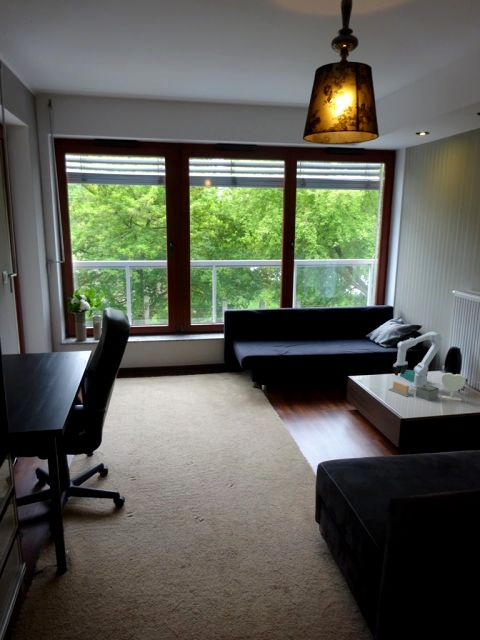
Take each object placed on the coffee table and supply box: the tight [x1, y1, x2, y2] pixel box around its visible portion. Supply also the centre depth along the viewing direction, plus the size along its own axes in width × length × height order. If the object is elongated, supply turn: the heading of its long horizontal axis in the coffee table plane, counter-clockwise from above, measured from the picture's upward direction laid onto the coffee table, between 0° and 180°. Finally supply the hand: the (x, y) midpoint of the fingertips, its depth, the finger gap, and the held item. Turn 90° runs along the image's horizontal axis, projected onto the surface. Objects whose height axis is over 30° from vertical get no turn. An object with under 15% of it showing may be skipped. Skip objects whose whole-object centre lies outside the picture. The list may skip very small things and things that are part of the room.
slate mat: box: [388, 387, 414, 398], centre depth 335 cm, size 8×16×1 cm, turn 34°
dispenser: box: [415, 383, 439, 401], centre depth 327 cm, size 11×11×8 cm
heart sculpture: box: [440, 372, 467, 401], centre depth 326 cm, size 16×5×18 cm, turn 64°
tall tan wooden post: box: [392, 380, 410, 394], centre depth 335 cm, size 2×12×6 cm, turn 33°
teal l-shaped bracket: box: [399, 369, 429, 383], centre depth 366 cm, size 18×11×10 cm, turn 17°
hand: (399, 374), depth 346 cm, fingers open, 7 cm apart
